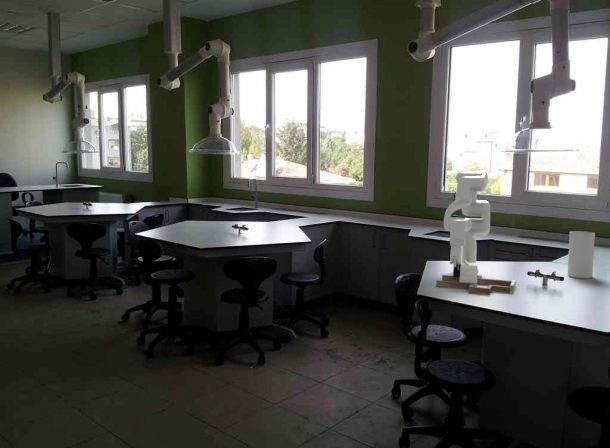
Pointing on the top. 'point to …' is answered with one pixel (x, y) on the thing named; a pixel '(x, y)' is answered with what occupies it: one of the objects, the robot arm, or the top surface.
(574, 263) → the cylinder vase
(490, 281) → the trap lane
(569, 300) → the top surface
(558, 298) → the top surface
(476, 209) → the robot arm
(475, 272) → the ink box
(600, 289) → the top surface
